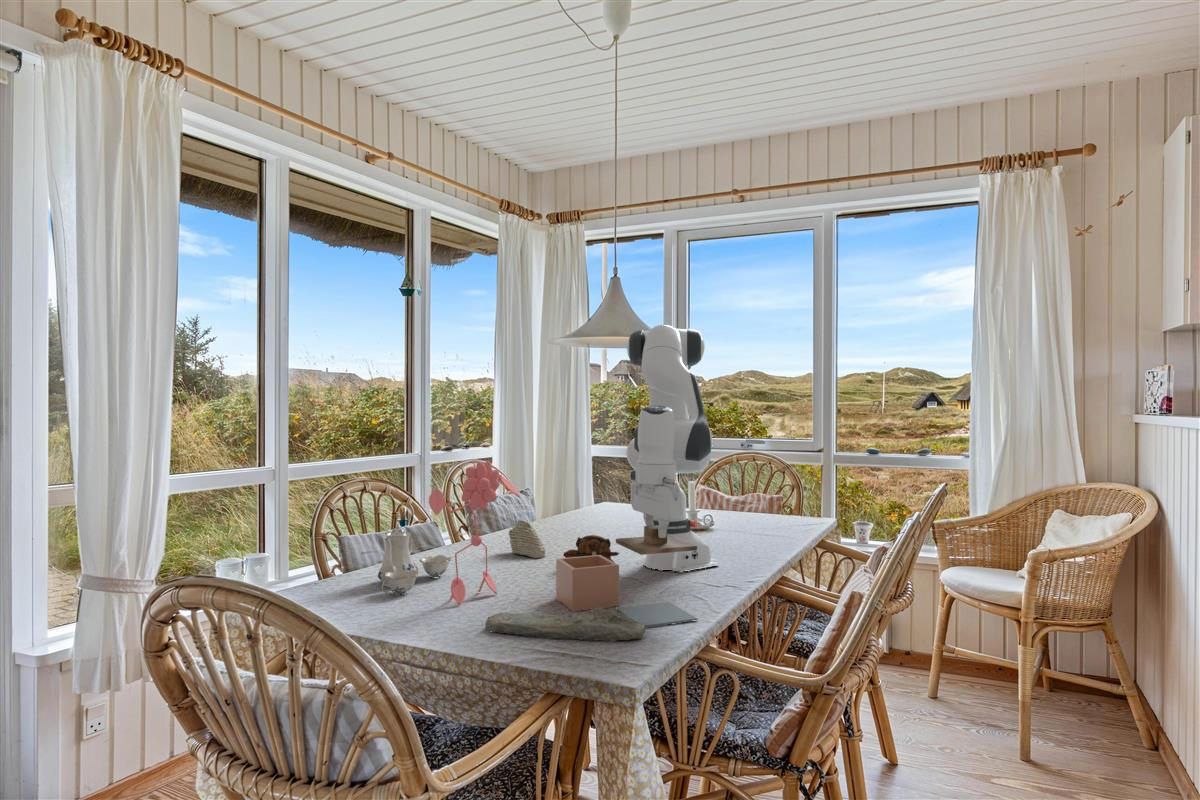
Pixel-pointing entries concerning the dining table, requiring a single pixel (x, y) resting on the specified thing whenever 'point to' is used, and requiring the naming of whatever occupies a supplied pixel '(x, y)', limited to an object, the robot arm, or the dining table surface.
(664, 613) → the grey mat
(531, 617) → the long grey stone
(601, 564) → the terracotta box
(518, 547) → the fossil tooth
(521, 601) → the dining table surface
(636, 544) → the walnut lid
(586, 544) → the wooden carving
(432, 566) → the chinaware
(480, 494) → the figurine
